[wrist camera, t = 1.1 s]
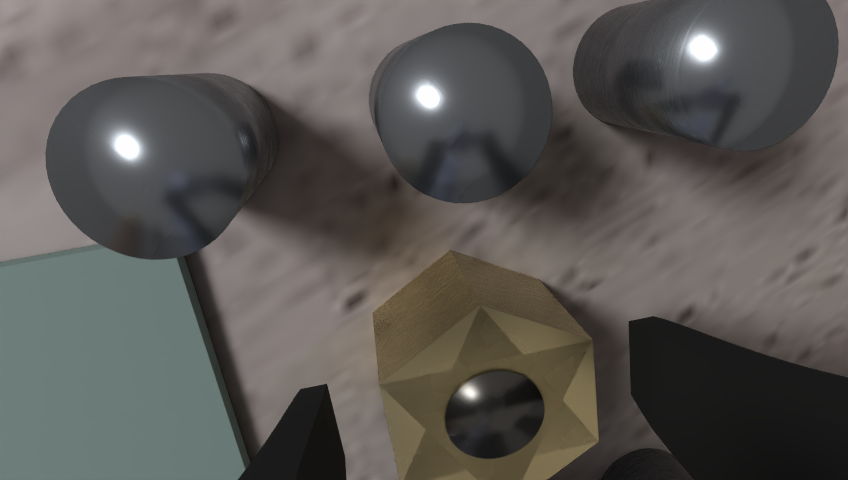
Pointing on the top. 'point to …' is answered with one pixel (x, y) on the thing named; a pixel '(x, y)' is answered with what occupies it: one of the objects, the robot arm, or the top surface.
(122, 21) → the top surface
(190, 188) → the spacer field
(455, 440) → the brass nut
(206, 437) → the green mat
